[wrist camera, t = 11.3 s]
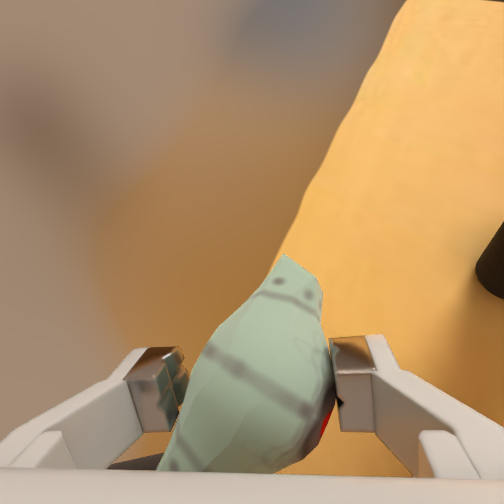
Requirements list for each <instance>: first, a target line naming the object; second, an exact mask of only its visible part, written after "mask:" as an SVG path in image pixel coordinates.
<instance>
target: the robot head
mask: <svg viewBox="0 0 504 504" xmlns="http://www.w3.org/2000/svg"><path fill="white" fill-rule="evenodd" d="M322 300H323V292H322V290H321V287H320V285H319V283H318V281H317V278H316V277H315V276H314V275H312V274H311V273H310V272H308V271H307V270H306V269H304V268H303V267H301V266H300V265H299V264H297V263H296V262H295V261H293V260H292V259H291V258H289V257H288V256H286V255H285V254H284V253H283V255H282V256H281V258H280V259H279V260H278V262H277V263H276V265H275V266H274V267H273V269H272V270H271V272H270V273H269V274H268V276H267V277H266V279H265V280H264V282H263V283H262V284H261V286H260V287H259V288H258V289H257V290H256V291H255V292H254V293H253V294H252V295H251V296H250V297H249V298H248V300H246V302H244V303H243V305H242V306H241V307H240V308H239V309H237V310H236V311H235V312H234V313H233V314H232V315H231V316H230V317H229V318H228V319H226V320H225V321H224V322H223V323H222V324H221V325H220V326H219V327H218V328H217V329H216V331H215V332H214V334H213V335H212V337H211V338H210V340H209V341H208V343H207V344H206V346H205V347H204V349H203V351H202V353H201V354H200V356H199V358H198V360H197V362H196V363H195V365H194V367H193V369H192V372H191V376H190V380H189V383H188V387H187V390H186V394H185V398H184V401H183V405H182V408H181V411H180V413H179V416H178V419H177V422H176V425H175V428H174V431H173V434H172V437H171V440H170V442H169V445H168V447H167V449H166V451H165V453H164V455H163V457H162V459H161V461H160V463H159V465H158V467H157V469H156V471H182V472H219V473H256V474H274V473H276V472H278V471H280V470H282V469H284V468H286V467H288V466H290V465H292V464H295V463H297V462H299V461H301V460H303V459H304V458H305V457H306V456H307V455H308V454H309V453H310V452H311V451H312V450H313V449H314V448H315V447H316V446H317V445H318V444H319V441H320V439H321V437H322V435H323V432H324V430H325V428H326V426H327V424H328V421H329V419H330V416H331V413H332V411H333V408H334V406H335V399H336V394H335V390H336V387H335V381H334V375H333V367H332V363H331V359H330V354H329V350H328V346H327V343H326V340H325V336H324V333H323V330H322V327H321V312H322Z"/></svg>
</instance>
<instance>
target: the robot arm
mask: <svg viewBox="0 0 504 504" xmlns="http://www.w3.org/2000/svg"><path fill="white" fill-rule="evenodd" d="M329 349H330V356H331V363H332V367H333V375H334V381H335V387H336V390H335V394H336V403H337V412H338V418H339V424H340V430H341V432H367V433H375V435H376V436H377V437H378V438H379V439H380V440H381V441H382V442H383V443H384V444H385V445H386V447H387V448H388V449H389V450H390V451H391V452H392V453H393V454H394V455H395V456H396V457H397V459H398V460H399V461H400V462H401V463H402V464H403V465H404V466H405V467H406V468H407V470H408V471H409V472H410V473H411V474H412V475H413V476H414V477H415V478H412V477H373V476H334V475H294V474H256V473H219V472H182V471H145V470H106V469H107V468H108V467H109V466H110V465H111V464H112V463H113V462H114V461H115V460H116V459H117V458H118V457H119V456H120V455H122V453H124V452H125V451H126V450H127V449H128V448H129V447H130V446H131V445H132V444H133V443H134V442H135V441H137V440H138V439H139V438H140V437H141V436H142V435H143V433H150V432H171V430H172V427H173V425H174V423H175V421H176V419H177V417H178V415H179V410H178V406H180V405H181V404H182V403H183V401H184V398H185V394H186V390H187V387H188V383H189V374H188V370H187V369H186V368H185V367H184V366H183V365H182V362H183V360H184V355H183V351H182V349H181V348H180V347H179V346H177V347H151V348H149V347H146V348H136V349H133V350H132V351H131V352H130V353H129V354H128V356H127V357H126V358H125V359H124V360H123V361H122V362H121V364H120V365H119V366H118V367H117V368H116V369H115V370H114V372H113V373H112V374H111V375H110V376H109V377H108V379H107V380H106V381H100V382H98V383H96V384H95V385H93V386H91V387H89V388H87V389H86V390H84V391H82V392H80V393H79V394H77V395H75V396H73V397H71V398H69V399H67V400H66V401H64V402H62V403H60V404H59V405H57V406H55V407H53V408H51V409H49V410H48V411H46V412H44V413H42V414H40V415H39V416H37V417H35V418H33V419H31V420H30V421H28V422H26V423H24V424H23V425H21V426H19V427H17V428H15V429H14V430H13V431H11V432H10V433H9V434H8V435H7V436H6V437H5V438H4V439H3V440H2V441H1V442H0V504H504V427H502V426H501V425H499V424H497V423H496V422H494V421H492V420H490V419H489V418H487V417H485V416H484V415H482V414H480V413H479V412H477V411H475V410H474V409H472V408H470V407H468V406H467V405H465V404H463V403H462V402H460V401H458V400H457V399H455V398H453V397H452V396H450V395H448V394H447V393H445V392H443V391H441V390H440V389H438V388H436V387H435V386H433V385H431V384H430V383H428V382H426V381H425V380H423V379H421V378H420V377H418V376H416V375H414V374H413V373H411V372H409V371H408V370H401V369H400V367H399V365H398V363H397V361H396V359H395V357H394V355H393V353H392V351H391V349H390V347H389V345H388V342H387V340H386V338H385V336H384V335H383V334H374V335H364V336H352V337H340V338H329Z"/></svg>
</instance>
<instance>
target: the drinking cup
mask: <svg viewBox="0 0 504 504" xmlns="http://www.w3.org/2000/svg"><path fill="white" fill-rule="evenodd" d="M476 273H477V277H478V279H479V281H480V282H481V284H482V285H483V286H484V287H485V288H486V289H487V290H488V291H489V292H491V293H492V294H494V295H496V296H498V297H500V298H502V299H504V222H503V223H502V225H501V226H500V228H499V229H498V231H497V232H496V234H495V235H494V237H493V238H492V240H491V241H490V243H489V244H488V246H487V247H486V249H485V250H484V252H483V254H482V255H481V257H480V258H479V260H478V261H477V264H476Z"/></svg>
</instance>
